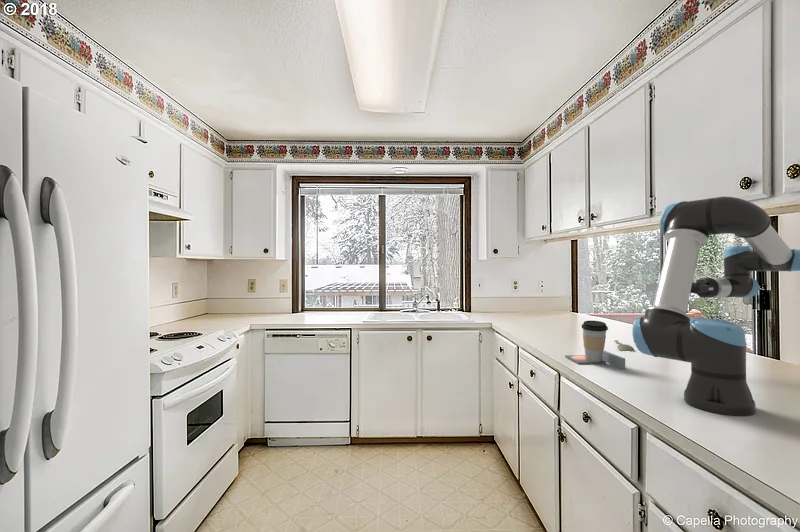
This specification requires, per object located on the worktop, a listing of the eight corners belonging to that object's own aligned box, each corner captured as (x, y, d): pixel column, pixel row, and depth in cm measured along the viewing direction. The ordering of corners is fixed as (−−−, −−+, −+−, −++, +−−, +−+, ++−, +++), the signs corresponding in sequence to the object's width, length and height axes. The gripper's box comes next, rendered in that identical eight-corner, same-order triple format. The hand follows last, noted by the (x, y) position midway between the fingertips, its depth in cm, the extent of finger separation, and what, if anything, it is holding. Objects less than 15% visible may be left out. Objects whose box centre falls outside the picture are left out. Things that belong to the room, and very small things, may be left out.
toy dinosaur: (618, 353, 174) (635, 355, 172) (619, 346, 173) (635, 347, 171) (609, 342, 194) (623, 344, 192) (609, 336, 194) (624, 337, 192)
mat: (606, 364, 151) (606, 361, 151) (578, 364, 151) (578, 362, 151) (590, 356, 163) (590, 354, 163) (565, 357, 163) (564, 355, 163)
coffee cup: (585, 353, 161) (586, 318, 159) (610, 358, 154) (611, 322, 152) (577, 360, 154) (577, 323, 152) (602, 365, 147) (603, 327, 146)
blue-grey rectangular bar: (625, 369, 143) (625, 358, 143) (621, 369, 143) (621, 358, 143) (597, 356, 163) (597, 347, 163) (593, 356, 163) (593, 347, 163)
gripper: (741, 300, 134) (681, 300, 133) (687, 295, 158) (636, 295, 158) (741, 278, 134) (680, 279, 133) (686, 277, 158) (635, 277, 158)
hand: (656, 288), depth 146 cm, fingers open, 13 cm apart
